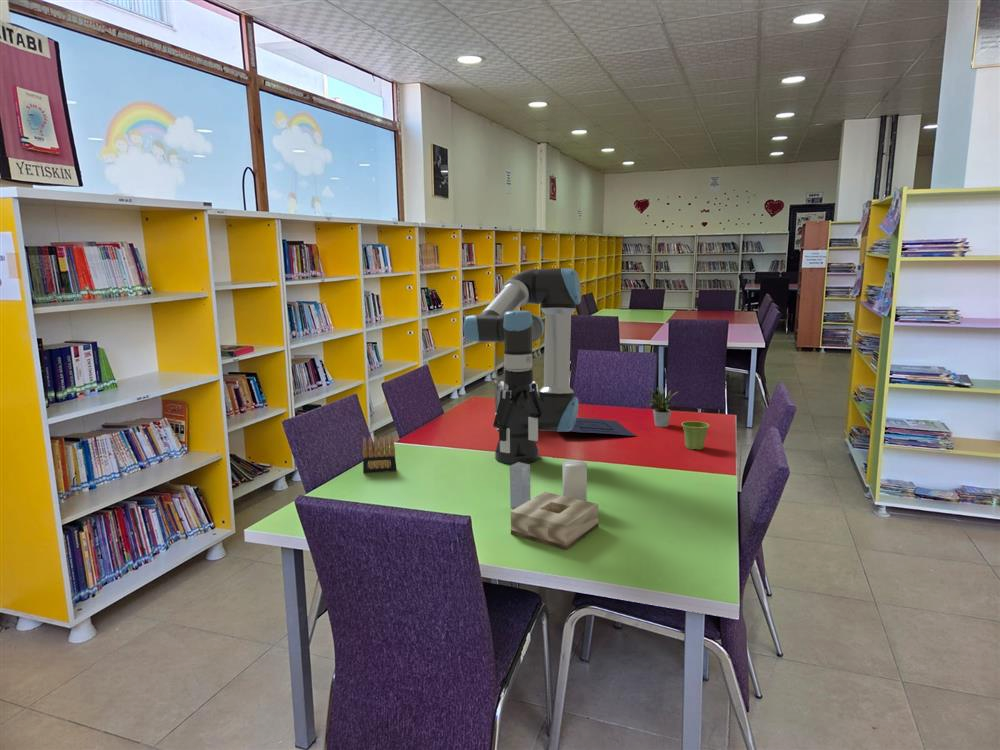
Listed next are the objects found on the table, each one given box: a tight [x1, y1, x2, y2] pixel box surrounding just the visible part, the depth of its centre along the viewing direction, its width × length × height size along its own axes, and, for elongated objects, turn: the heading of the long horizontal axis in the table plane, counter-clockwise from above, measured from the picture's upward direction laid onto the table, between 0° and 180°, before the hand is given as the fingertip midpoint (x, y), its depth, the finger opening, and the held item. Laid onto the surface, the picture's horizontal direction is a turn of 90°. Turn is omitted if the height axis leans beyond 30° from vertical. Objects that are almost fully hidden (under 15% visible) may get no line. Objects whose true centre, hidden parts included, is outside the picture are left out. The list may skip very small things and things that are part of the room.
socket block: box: [510, 491, 600, 551], centre depth 158 cm, size 16×16×6 cm
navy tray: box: [570, 417, 637, 437], centre depth 250 cm, size 24×30×4 cm
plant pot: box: [681, 420, 710, 451], centre depth 225 cm, size 9×9×9 cm
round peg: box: [562, 459, 588, 502], centre depth 173 cm, size 7×7×12 cm
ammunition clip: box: [362, 434, 397, 474], centre depth 206 cm, size 11×2×12 cm, turn 97°
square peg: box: [509, 462, 532, 509], centre depth 173 cm, size 4×4×12 cm
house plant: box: [645, 386, 680, 428], centre depth 256 cm, size 14×14×16 cm
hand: (519, 446), depth 171 cm, fingers open, 13 cm apart
